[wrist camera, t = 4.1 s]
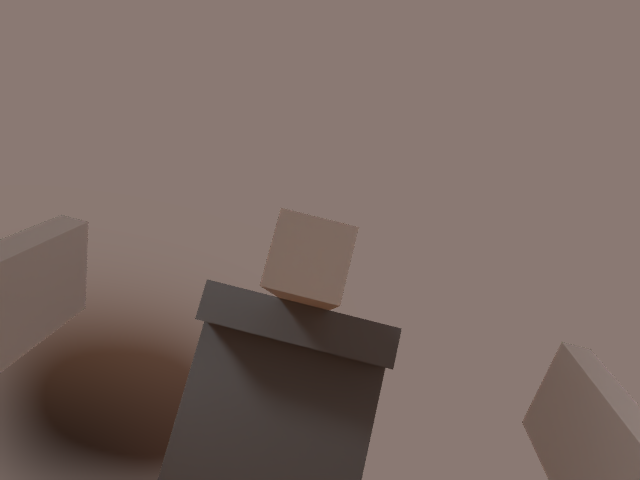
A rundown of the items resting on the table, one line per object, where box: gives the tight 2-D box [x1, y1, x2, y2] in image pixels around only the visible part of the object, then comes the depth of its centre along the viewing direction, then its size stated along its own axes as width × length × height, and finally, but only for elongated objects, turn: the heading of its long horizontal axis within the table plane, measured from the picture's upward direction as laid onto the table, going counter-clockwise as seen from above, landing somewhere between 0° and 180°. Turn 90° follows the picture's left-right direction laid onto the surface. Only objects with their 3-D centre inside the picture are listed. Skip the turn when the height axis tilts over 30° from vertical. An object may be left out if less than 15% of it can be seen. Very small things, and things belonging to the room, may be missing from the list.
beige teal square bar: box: [260, 208, 358, 310], centre depth 24 cm, size 21×3×3 cm, turn 2°
